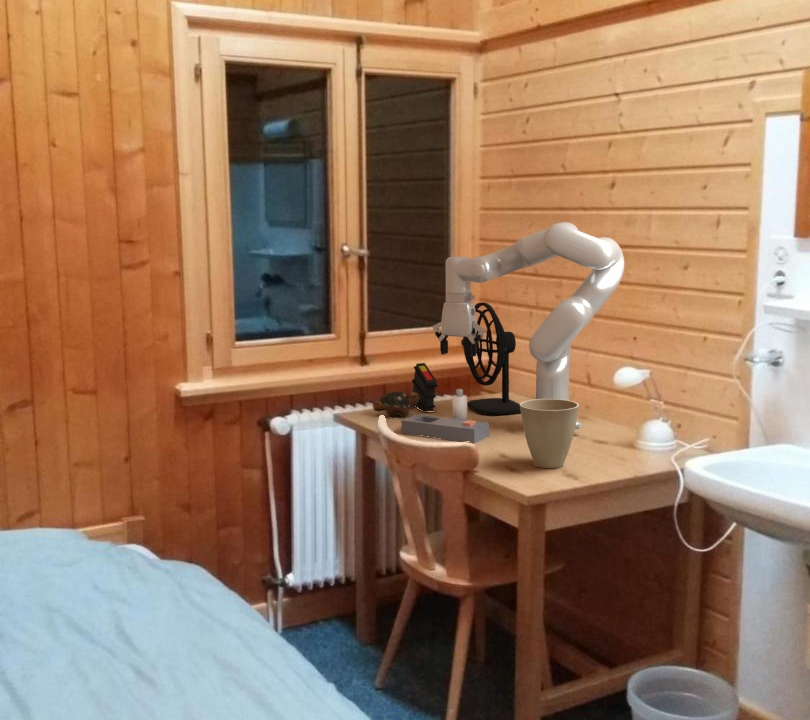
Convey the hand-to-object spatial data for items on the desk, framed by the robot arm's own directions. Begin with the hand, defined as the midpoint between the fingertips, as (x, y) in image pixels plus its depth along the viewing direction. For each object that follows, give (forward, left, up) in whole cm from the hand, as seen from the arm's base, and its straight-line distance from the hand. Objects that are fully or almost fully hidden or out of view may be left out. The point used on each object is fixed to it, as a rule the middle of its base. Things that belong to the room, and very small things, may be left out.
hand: (458, 355), depth 293 cm
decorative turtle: (+24, -2, -22) cm, 32 cm away
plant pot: (-41, +28, -22) cm, 54 cm away
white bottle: (0, 0, -22) cm, 22 cm away
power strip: (-2, +13, -22) cm, 25 cm away
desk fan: (+1, -24, -22) cm, 32 cm away
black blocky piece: (+20, -13, -22) cm, 32 cm away
